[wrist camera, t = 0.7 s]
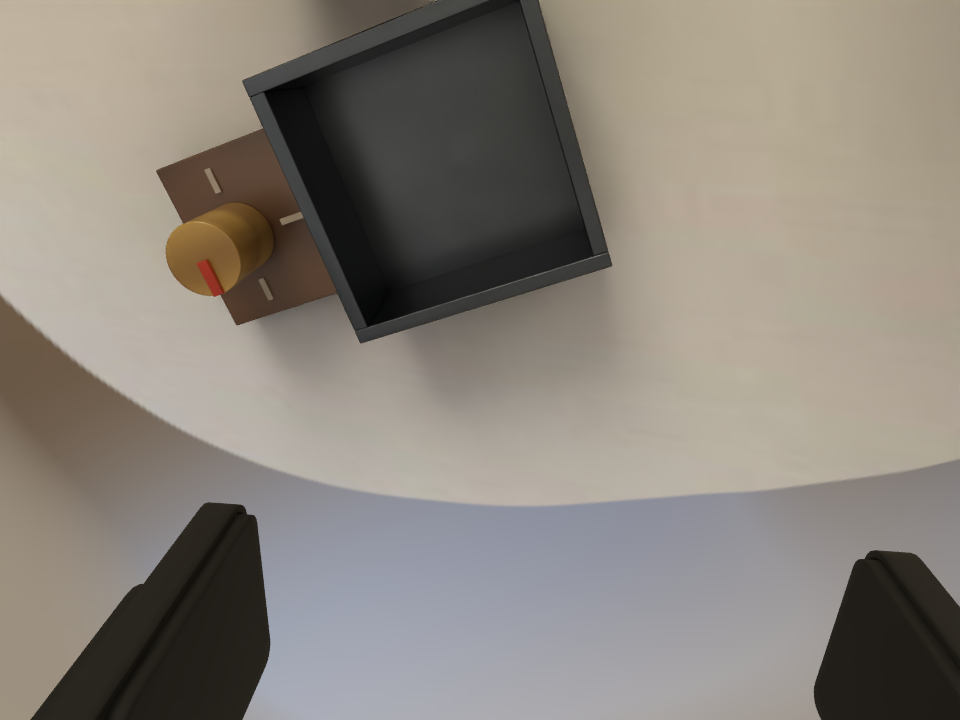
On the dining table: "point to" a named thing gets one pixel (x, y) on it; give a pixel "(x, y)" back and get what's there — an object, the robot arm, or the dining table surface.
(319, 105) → the basin
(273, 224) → the panel
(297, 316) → the dining table surface
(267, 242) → the tap knob
